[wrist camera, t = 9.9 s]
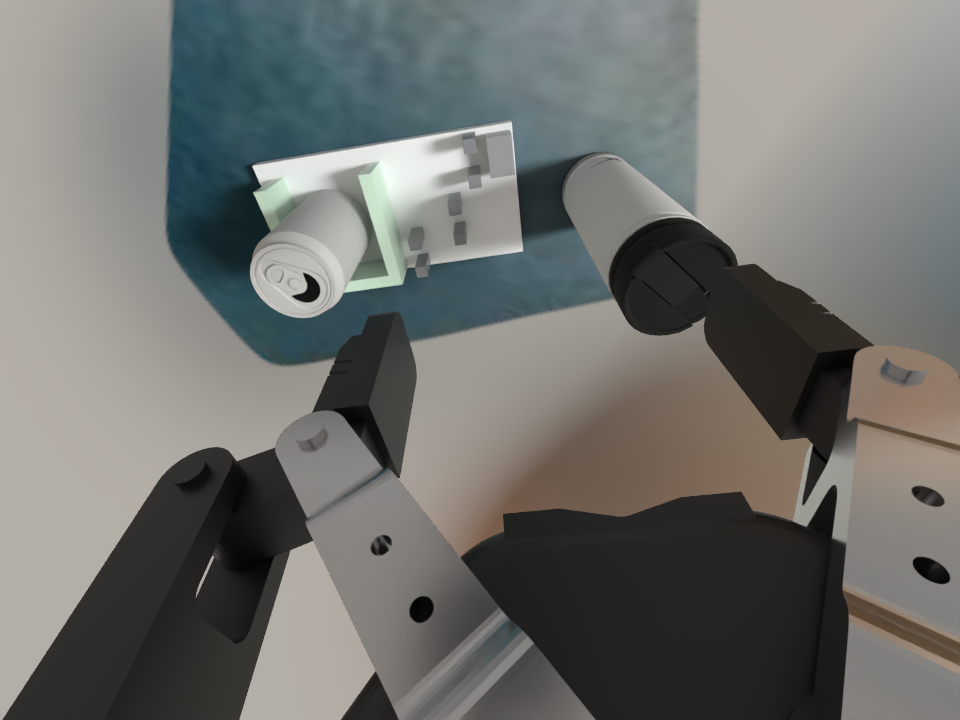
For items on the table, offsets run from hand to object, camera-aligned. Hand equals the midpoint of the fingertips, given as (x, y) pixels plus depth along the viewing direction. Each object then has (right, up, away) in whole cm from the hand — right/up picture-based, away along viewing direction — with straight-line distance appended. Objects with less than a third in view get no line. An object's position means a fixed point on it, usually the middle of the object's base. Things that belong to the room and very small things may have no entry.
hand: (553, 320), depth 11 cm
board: (-9, +13, +28) cm, 32 cm away
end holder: (-14, +11, +27) cm, 33 cm away
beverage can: (-15, +12, +28) cm, 33 cm away
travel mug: (+8, +15, +27) cm, 32 cm away
